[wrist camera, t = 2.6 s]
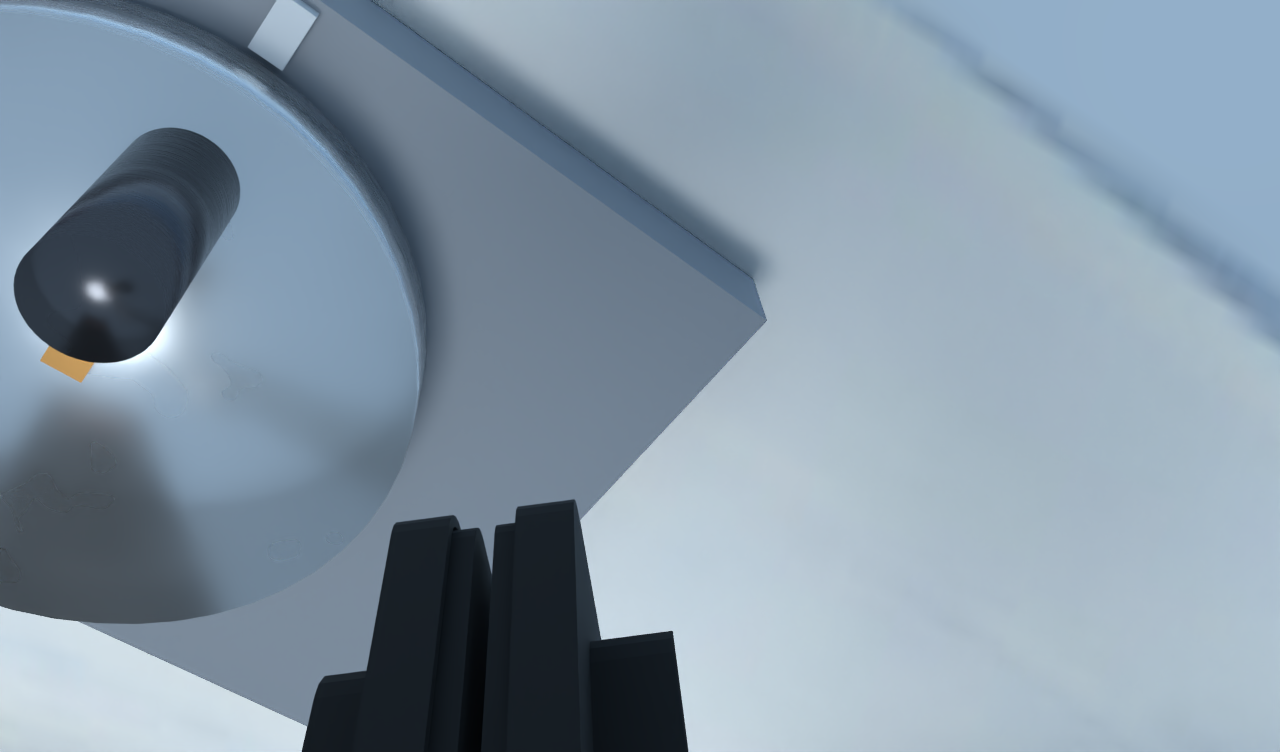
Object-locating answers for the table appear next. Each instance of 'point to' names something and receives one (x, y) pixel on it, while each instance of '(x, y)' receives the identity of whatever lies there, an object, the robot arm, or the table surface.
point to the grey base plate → (471, 324)
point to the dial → (185, 322)
